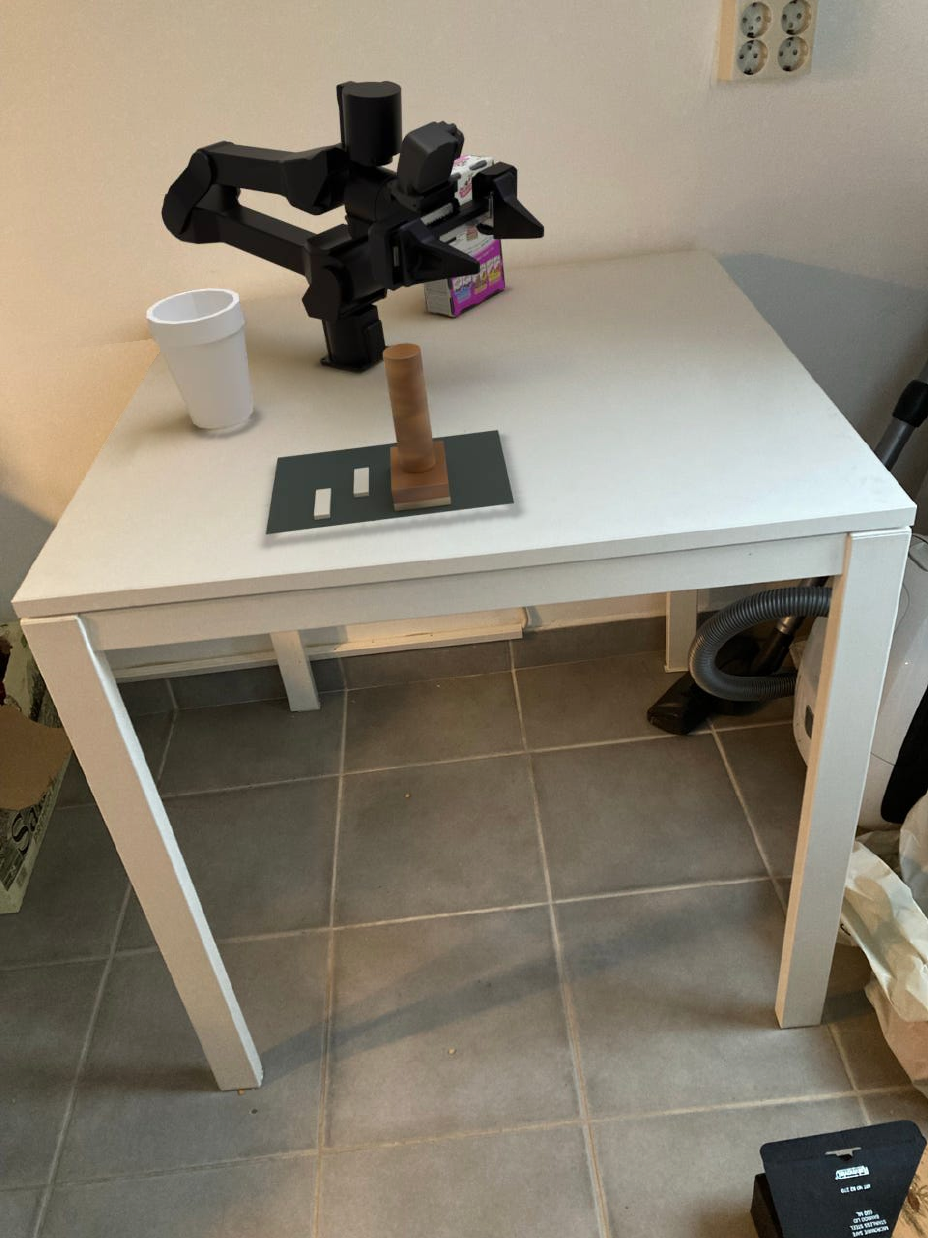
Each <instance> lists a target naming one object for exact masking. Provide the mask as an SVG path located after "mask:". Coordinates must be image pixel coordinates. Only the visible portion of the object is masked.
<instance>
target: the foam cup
mask: <svg viewBox="0 0 928 1238" xmlns="http://www.w3.org/2000/svg"><path fill="white" fill-rule="evenodd" d="M146 321H147V323H148V327H149V330H150V333H151V336H152V340H153V341H154V342H156V344H157V347H158V348H159V351H160V353H161V356H162V358H163V360H164V362H165V364H166V366H167V369H168V371H169V373H170V375H171V377H172V379H173V382H174V383H175V386H176V388H177V390H178V392H179V395H180V397H181V399H182V401H183V403H184V406H185V408H186V410H187V413H188V415H189V416H190V419H191V421H192V424H193V425H195V426H197V427H198V428H200V429H207V430H215V429H217V430H218V429H224V428H228V427H231V426H235V425H238V424H240V423H242V422H243V421H245V420H247V419H249V418H250V417H251V415H252V414H253V412H254V406H253V396H252V388H251V379H250V370H249V362H248V352H247V345H246V337H245V327H244V326H245V324H246V321H245V317H244V312H243V308H242V305H241V300H240V297H239V293H238V292H235V291H233V290H230V289H228V288H214V287H213V288H212V287H209V288H200V289H192V290H188V291H184V292H179V293H177V294H172V295H170V296H168V297H165V298H163V299H161V300H159V301H156V302H154V303H153V304H152V305H151V306H150V307H149V308H148V309H147V310H146Z"/></svg>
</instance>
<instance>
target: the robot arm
mask: <svg viewBox="0 0 928 1238" xmlns="http://www.w3.org/2000/svg"><path fill="white" fill-rule="evenodd" d="M335 90H336V91H335V93H336V101H337V106H338V115H339V134H340V142H338V143H334V144H330V145H325V146H320V147H314V148H312V149H307V150H302V151H288V150H280V149H274V148H264V147H258V146H252V145H251V146H250V145H243V144H238V143H237V144H236V143H234V142H232V141H227V140H221V141H218V142H214V143H212V144H208V145H205V146H202V147H200V148H197V149H196V150H195V151H194V152H193V153H192V154H191V156H190V158H189V161H188V164H187V166H186V167H185V169H184V170H183V171H181V173H180V174H179V175H178V176H177V177H176V179H175V180H174V181H173V182H172V184H171V185H170V186H169V188H168V189H167V193H165V194H164V198H163V202H162V207H161V214H160V215H161V219H162V223H163V224H164V226H165V228H166V230H167V231H168V232H169V233H170V234H171V235H172V236H173V237H174V238H175V239H177V240H178V241H180V242H183V243H188V244H193V245H209V244H225V245H228V246H230V247H233V248H234V249H237V250H240V251H242V252H245V253H247V254H250V255H252V256H254V257H257V258H260V259H262V260H264V261H266V262H268V263H272V264H273V265H276V266H279V267H281V268H283V269H286V270H288V271H291V272H292V273H293V272H294V273H296V274H298V275H301V276H302V277H305V280H306V282H307V284H308V287H307V289H306V291H305V292H304V294H303V296H302V298H301V302H302V305H303V307H304V309H305V311H306V314H307V316H308V318H312V319H315V320H320V321H321V325H322V330H323V335H324V341H325V346H326V350H327V354H326V355H324V356H321V358H320V359H319V364H321V365H324V366H329V367H333V368H338V369H342V370H343V369H344V370H348V371H352V372H358V373H359V372H360V373H361V372H364V371H365V370H366V369H368V368H370V367H371V366H374V364H376V363H378V362H379V361H381V360H382V359H383V351H384V350H385V349H386V348H388V347H390V346H391V345H390V346H389V345H386V341H385V334H384V329H383V328H384V327H383V322H382V319H380V315H379V310H378V305H376V304H375V303H378V302H379V301H381V300H385V299H386V298H387V297H388V290H389V291H391V292H395V291H397V290H399V289H400V288H402V287H404V288H410V287H413V286H416V285H420V284H421V285H423V283H427V282H432V281H437V280H443V279H449V278H456V277H462V276H469V275H476V274H478V273H480V262H479V261H478V260H476V259H474V258H473V257H471V256H470V255H468V254H466V253H464V252H462V251H460V250H459V249H457V248H455V247H453V246H451V245H449V244H450V243H452V242H454V241H456V240H457V236H458V235H460V234H462V233H463V232H465V231H467V230H469V229H471V228H473V227H476V228H477V230H478V231H479V233H482V234H484V235H493V239H501V240H534V239H542V238H544V237H545V225H543V223H541V222H540V220H539V219H537V218H536V217H535V215H533V214H532V213H531V212H530V211H529V210H528V209H527V208H526V207H525V205H523V203H522V202H521V201H520V200H519V198H518V169H517V168H516V167H515V165H512V164H509V163H506V162H504V161H501V160H500V161H498V162H495V163H494V165H492V166H489V167H487V168H485V169H483V170H481V171H479V172H478V173H477V174H476V175H475V176H474V177H473V178H472V179H471V182H472V199H471V200H469V201H468V202H466V203H464V204H462V205H460V203H459V200H458V199H457V198H455V193H456V192H458V179H456V178H453V177H451V176H450V175H451V173H452V169H453V165H454V161H455V160H456V159H459V158H461V157H462V152H463V149H464V148H463V147H464V145H465V140H466V139H465V135H464V133H463V131H461V130H460V129H459V128H458V126H457V124H455V123H454V122H452V123H448V122H446V121H444V120H441V121H439V122H437V121H431V122H428V123H427V124H424V125H422V126H419V127H417V128H415V129H413V130H410V131H409V132H407V133H406V135H405V136H404V137H403V105H402V104H403V101H402V100H403V99H402V87H401V85H400V84H398V83H396V82H393V81H390V80H383V81H361V82H356V81H353V80H348V81H345V82H342V83H339V84H337V85H336V86H335ZM397 155H399V157H398V161H397V166H396V170H393V169H390V168H387V167H386V166H388V165H390V164H392V163H393V162H394V156H395V157H396V156H397ZM242 189H244V190H249V191H254V192H260V193H267V194H273V195H279V196H281V197H284V198H285V199H286V201H287V202H288V203H289V205H290V206H291V207H293V208H295V209H297V210H300V211H301V212H304V213H307V214H309V215H312V216H316V217H317V216H321V215H324V214H326V213H329V212H331V211H333V210H336V209H338V208H341V207H344V212H345V215H344V220H345V222H346V223H340V224H337V225H335V226H333V227H330V228H328V229H326V230H324V231H321V232H319V233H316V232H312V231H310V230H308V229H305V228H303V227H300V226H297V225H295V224H292V223H290V222H287V221H284V220H281V219H278V218H276V217H274V216H271V215H268V214H266V213H263V212H261V211H258V210H256V209H253V208H249V207H247V206H245V205H243V204H241V203H240V200H239V198H240V195H241V194H242Z"/></svg>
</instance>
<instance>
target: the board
mask: <svg viewBox="0 0 928 1238" xmlns="http://www.w3.org/2000/svg"><path fill="white" fill-rule="evenodd" d="M432 438H433V442H435V441H443V443H444V451H445V459H446V467H447V475H448V483H449V491H450V500H451V504H449V505H442V506H434V507H426V508H418V509H410V510H402V511H395V508H394V502H393V496H392V489H391V458H390V447H396V446H397V442H391V443H390V442H389V443H383V444H375V445H374V444H373V445H368V446H359V447H358V446H357V447H352V448H344V449H336V450H329V451H328V450H327V451H320V452H312V453H303V454H295V455H289V456H282V457H281V456H280V457H277V460H276V466H275V471H274V472H275V474H274V479H273V480H274V481H273V485H272V491H271V499H270V506H269V509H268V510H269V511H268V517H267V523H266V524H267V525H266V530H265V535H272V534H273V535H274V534H281V533H289V532H294V531H295V532H296V531H304V530H311V529H313V530H314V529H320V528H329V527H337V526H343V525H352V524H361V523H367V522H375V521H384V520H393V519H400V518H401V519H402V518H407V517H416V516H425V515H431V514H439V513H448V512H456V511H463V510H471V509H472V510H473V509H478V508H479V509H480V508H488V507H495V506H503V505H511V504H515V500H514V496H513V491H512V488H511V487H512V485H511V483H510V477H509V473H508V469H507V463H506V460H505V455H504V451H503V446H502V442H501V437H500V432H499V430H498V429H495V430H494V429H493V430H487V431H479V432H471V433H462V434H454V435H446V436H438V437H432ZM361 468H369V471H370V488H369V496H365V497H357V498H354V469H361ZM328 488H331V491H332V499H331V515H330V518H327V519H319V520H315V519H314V508H315V497H316V490H321V489H328Z"/></svg>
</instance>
